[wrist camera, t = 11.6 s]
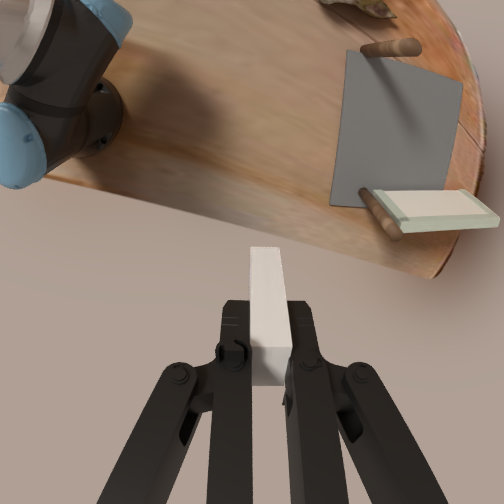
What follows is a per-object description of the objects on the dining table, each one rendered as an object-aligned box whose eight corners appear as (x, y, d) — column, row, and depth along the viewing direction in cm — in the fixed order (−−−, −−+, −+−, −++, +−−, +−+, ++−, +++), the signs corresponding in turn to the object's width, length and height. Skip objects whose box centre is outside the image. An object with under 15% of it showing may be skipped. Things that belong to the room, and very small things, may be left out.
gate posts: (355, 196, 53) (387, 242, 40) (359, 43, 38) (404, 36, 24) (367, 196, 53) (402, 241, 39) (373, 45, 37) (421, 40, 24)
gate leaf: (372, 198, 51) (399, 233, 41) (373, 189, 50) (401, 222, 40) (463, 197, 50) (498, 226, 40) (465, 189, 49) (500, 218, 39)
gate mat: (329, 203, 54) (329, 204, 53) (346, 50, 38) (347, 49, 38) (434, 213, 54) (435, 214, 54) (461, 83, 39) (463, 83, 39)
